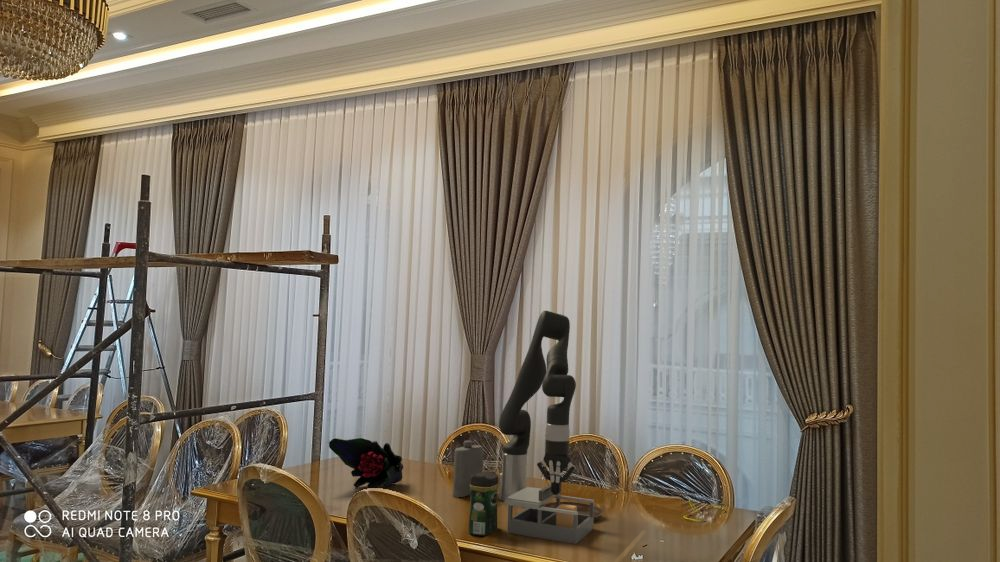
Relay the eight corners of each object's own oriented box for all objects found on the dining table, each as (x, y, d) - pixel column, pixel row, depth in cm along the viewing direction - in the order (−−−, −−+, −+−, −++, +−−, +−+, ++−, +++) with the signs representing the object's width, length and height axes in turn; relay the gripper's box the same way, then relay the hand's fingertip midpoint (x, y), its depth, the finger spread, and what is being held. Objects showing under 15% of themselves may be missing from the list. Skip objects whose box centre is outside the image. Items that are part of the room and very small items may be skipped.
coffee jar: (478, 527, 221) (480, 468, 223) (500, 530, 218) (502, 470, 219) (463, 534, 213) (466, 473, 214) (487, 538, 209) (489, 476, 211)
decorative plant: (399, 509, 275) (358, 504, 249) (354, 475, 287) (311, 467, 261) (426, 463, 277) (388, 453, 251) (381, 431, 290) (340, 418, 264)
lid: (504, 503, 213) (505, 488, 214) (528, 491, 231) (528, 477, 232) (538, 508, 209) (539, 493, 209) (560, 495, 227) (560, 481, 227)
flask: (472, 489, 273) (474, 438, 275) (484, 492, 270) (486, 439, 271) (448, 496, 261) (450, 442, 262) (460, 498, 258) (462, 444, 259)
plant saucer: (604, 513, 245) (605, 504, 245) (601, 529, 225) (601, 519, 225) (546, 508, 249) (547, 499, 249) (538, 523, 229) (538, 513, 229)
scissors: (700, 525, 235) (701, 511, 235) (673, 518, 242) (674, 504, 242) (728, 512, 254) (729, 499, 255) (703, 506, 261) (704, 493, 261)
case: (507, 535, 213) (508, 502, 214) (528, 521, 229) (529, 491, 230) (576, 547, 204) (577, 512, 205) (593, 531, 221) (594, 499, 221)
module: (555, 533, 214) (556, 507, 214) (561, 529, 218) (561, 503, 219) (571, 536, 212) (572, 509, 212) (576, 532, 216) (576, 505, 217)
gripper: (581, 438, 219) (579, 494, 218) (541, 435, 225) (540, 489, 223) (573, 442, 212) (572, 499, 211) (533, 437, 218) (531, 494, 217)
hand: (555, 494), depth 217 cm, fingers closed
